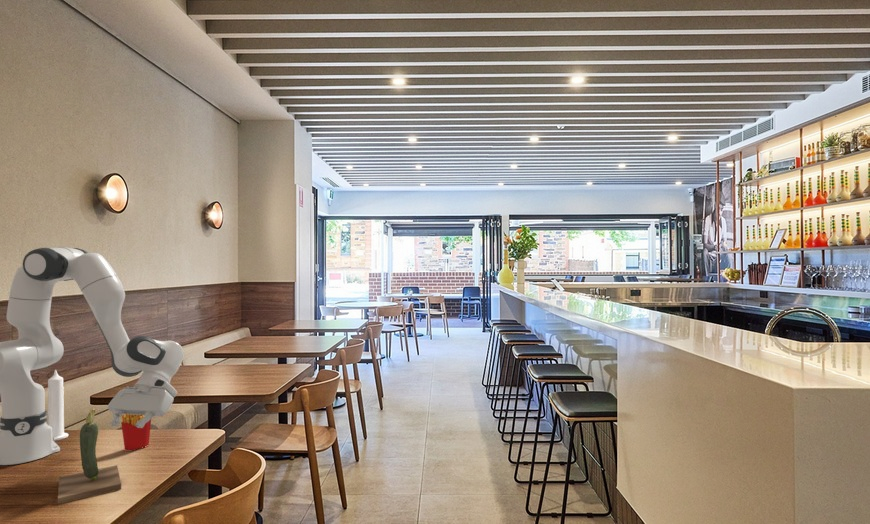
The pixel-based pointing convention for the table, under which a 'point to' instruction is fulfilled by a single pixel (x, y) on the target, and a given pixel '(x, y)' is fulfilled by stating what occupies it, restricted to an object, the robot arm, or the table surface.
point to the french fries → (134, 432)
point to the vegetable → (89, 446)
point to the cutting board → (88, 484)
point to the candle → (56, 406)
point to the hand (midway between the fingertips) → (125, 426)
